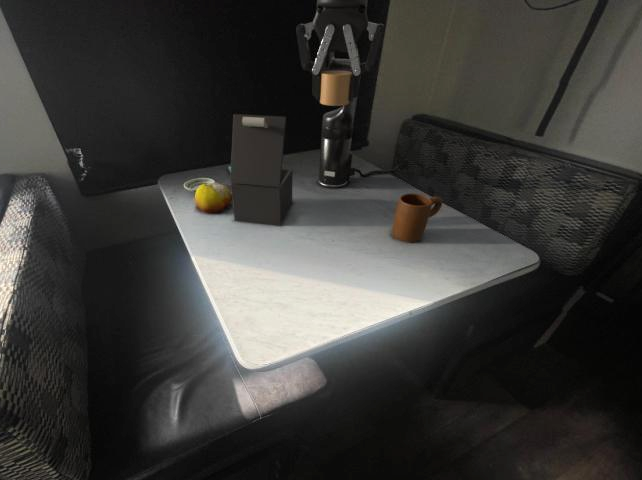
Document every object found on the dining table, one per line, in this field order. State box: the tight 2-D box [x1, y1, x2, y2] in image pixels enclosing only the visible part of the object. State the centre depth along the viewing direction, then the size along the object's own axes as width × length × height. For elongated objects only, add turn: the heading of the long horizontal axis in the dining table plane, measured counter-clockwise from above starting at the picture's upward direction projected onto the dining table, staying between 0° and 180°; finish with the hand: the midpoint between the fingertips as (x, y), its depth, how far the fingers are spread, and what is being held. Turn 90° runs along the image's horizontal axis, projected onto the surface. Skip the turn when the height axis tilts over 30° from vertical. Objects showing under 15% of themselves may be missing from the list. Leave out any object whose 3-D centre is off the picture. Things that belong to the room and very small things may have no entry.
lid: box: [229, 113, 287, 188], centre depth 77 cm, size 15×13×5 cm
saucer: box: [183, 177, 216, 194], centre depth 104 cm, size 10×10×2 cm
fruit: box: [194, 182, 233, 215], centre depth 94 cm, size 11×10×8 cm
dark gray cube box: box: [230, 167, 293, 227], centre depth 90 cm, size 15×13×10 cm
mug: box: [391, 193, 443, 243], centre depth 81 cm, size 12×8×9 cm, turn 112°
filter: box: [319, 71, 352, 107], centre depth 57 cm, size 5×5×4 cm
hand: (334, 99), depth 58 cm, fingers closed on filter, 5 cm apart
